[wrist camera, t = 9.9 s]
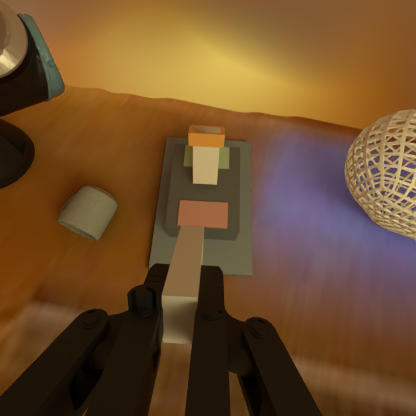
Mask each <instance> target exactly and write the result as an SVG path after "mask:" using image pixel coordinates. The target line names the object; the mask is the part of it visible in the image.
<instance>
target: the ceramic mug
mask: <svg viewBox="0 0 416 416" xmlns="http://www.w3.org/2000/svg"><path fill="white" fill-rule="evenodd" d="M117 206H118V203H117V200H116V199H115V198H114V197H113V196H112V195H111V194H109V193H108V192H106V191H105V190H103V189H101V188H99V187H97V186H94V185H85V186H83V187H82V188H81V189H80V190H79V191H78V192H77V193H76V194H75V195H73V196H72V197H70V198H69V199H68V200H67V201H66V202H65V204H64V205H63V207H62V209H61V211H60V215H59V216H58V218H57V221H58V222H59V223H60V224H62V225H63V226H65V227H67V228H69V229H70V230H72V231H74V232H76V233H78V234H80V235H82V236H84V237H86V238H89V239H91V240H94V241H98V240H99V239H100V237H101V236H102V234H103V232H104V230H105V229H106V227H107V225H108V224H109V222H110V220H111V218H112V217H113V215H114V213H115V211H116V209H117Z"/></svg>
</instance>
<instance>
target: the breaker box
mask: <svg viewBox="0 0 416 416" xmlns="http://www.w3.org/2000/svg"><path fill="white" fill-rule="evenodd" d="M181 225H197V226H204V240H203V261H202V265H208V266H219V267H220V268H221V270H222V271H223V275H233V276H250V277H251V276H252V208H251V141H233V140H224V148H220V149H219V163H218V176H217V185H214V184H196V183H193V146H189V138H177V137H167V140H166V147H165V154H164V161H163V169H162V176H161V183H160V190H159V197H158V205H157V212H156V219H155V226H154V233H153V241H152V248H151V255H150V262H149V269H150V268H151V267H152V266H153V265H154V264H155V263H161V264H170V263H171V260H172V256H173V253H174V249H175V245H176V242H177V238H178V235H179V231H180V227H181ZM149 269H148V270H149Z"/></svg>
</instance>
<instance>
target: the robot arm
mask: <svg viewBox="0 0 416 416" xmlns="http://www.w3.org/2000/svg"><path fill="white" fill-rule="evenodd" d="M64 89H65V86H64V82H63V80H62V78H61V75H60V73H59V71H58V68H57V66H56V64H55V63H54V60H53V58H52V56H51V54H50V51H49V49H48V47H47V45H46V43H45V41H44V39H43V37H42V34H41V32H40V30H39V28H38V27H37V25H36V23H35V21H34V19H33V18H32V17H31V16H29V15H27V14H24V15H22V14H15V13H14V11H13V10H12V9H11V8H9V7H8V6H7V5H6V4H4V3H3V2H1V1H0V117H1V116H4V115H7V114H10V113H13V112H15V111H18V110H21V109H24V108H27V107H29V106H32V105H35V104H38V103H41V102H44V101H45V102H47V101H50V100H51V99H52V98H54V97H56V96H59V95H61V94H62V93H63V92H64ZM33 158H34V145H33V142H32V141H31V139H30V138H29V137H28V136H27V135H26V134H25V133H24V132H23V131H22V130H21V129H19V128H18V127H16V126H14V125H12V124H10V123H8V122H6V121H4V120H2V119H0V188H3V187H6V186H8V185H10V184H12V183H13V182H15V181H16V180H18V179H19V178H20V177H21V176H23V175H24V174H25V172H26V171H27V170H28V169H29V167H30V165H31V163H32V161H33ZM203 240H204V226H197V225H181V227H180V231H179V235H178V238H177V242H176V245H175V249H174V253H173V256H172V260H171V263H170V264H161V263H155V264H154V265H153V266H152V267H151V268H150V269H149V271H148V274H147V276H146V279H145V282H144V284H143V285H139V286H136V287H134V288H132V289H131V290H130V291H129V292H128V294H127V296H128V307H129V310H128V311H125V312H123V313H120V314H115V315H110V316H108V314H107V313H106V311H104V310H102V309H91V310H87V311H85V312H83V313H81V314H80V315H79V316H78V317H77V318H76V319H75V320H74V321H73V322H72V323H71V324H70V325H69V326H68V327H67V328H66V329H65V330H64V331H63V332H62V333H61V334H60V335H59V336H58V337H57V338H56V339H55V340H54V341H53V342H52V343H51V344H50V346H49V347H48V348H47V349H46V350H45V351H44V352H43V353H42V354H41V355H40V356H39V357H38V358H37V359H36V360H35V361H34V362H33V363H32V364H31V365H30V366H29V367H28V368H27V369H26V370H25V371H24V372H23V374H22V375H21V376H20V377H19V378H18V379H17V380H16V381H15V382H14V383H13V384H12V385H11V386H10V387H9V388H8V389H7V390H6V391H5V392H4V393H3V394H2V395H1V396H0V416H82V415H83V414H84V412H85V410H86V409H87V407H88V406H89V407H88V409H87V412H86V414H85V416H148V412H149V407H150V403H151V398H152V393H153V389H154V384H155V379H156V375H157V370H158V365H159V361H160V356H161V342H162V338H163V342H165V343H182V344H192V350H191V360H190V370H189V380H188V390H187V400H186V410H185V416H231V415H230V392H229V371H230V372H233V373H235V374H237V376H238V379H239V383H240V386H241V389H242V392H243V395H244V398H245V402H246V405H247V408H248V411H249V414H250V416H322V414H321V412H320V410H319V409H318V407H317V405H316V403H315V401H314V399H313V398H312V396H311V394H310V392H309V390H308V388H307V387H306V385H305V383H304V381H303V379H302V377H301V375H300V374H299V372H298V370H297V368H296V366H295V364H294V363H293V361H292V359H291V357H290V355H289V353H288V352H287V350H286V348H285V346H284V344H283V342H282V341H281V339H280V337H279V335H278V333H277V331H276V329H275V328H274V326H273V325H272V324H271V323H270V322H269V321H267V320H266V319H263V318H260V317H252V318H249V319H247V320H246V321H245V322H242V321H239V320H237V319H235V318H233V317H231V316H230V315H229V314H228V313H227V312H226V310H225V306H224V286H223V271H222V270H221V268H220V267H219V266H208V265H202V261H203Z"/></svg>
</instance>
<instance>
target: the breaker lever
mask: <svg viewBox="0 0 416 416" xmlns="http://www.w3.org/2000/svg"><path fill="white" fill-rule="evenodd" d="M188 136H189V146H193V183H196V184H214V185H217V176H218V163H219V149H220V148H224V139H225V127H223V126H204V125H190V129H189V133H188Z"/></svg>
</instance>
